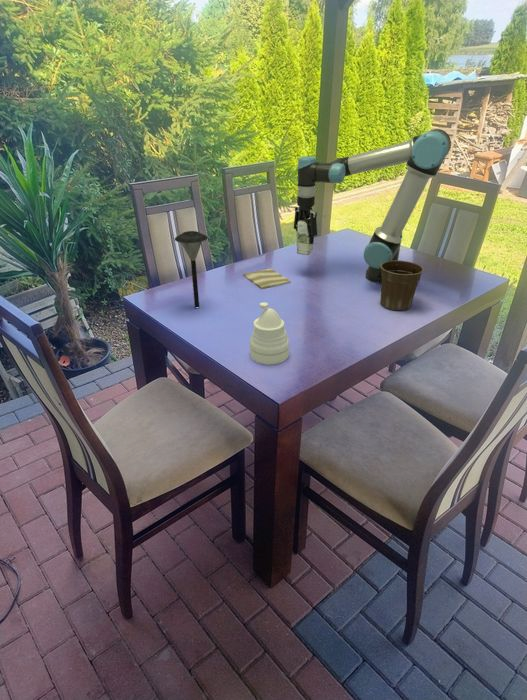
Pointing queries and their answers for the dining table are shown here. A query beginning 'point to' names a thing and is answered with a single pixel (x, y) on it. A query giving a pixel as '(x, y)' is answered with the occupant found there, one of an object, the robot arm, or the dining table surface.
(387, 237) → the robot arm
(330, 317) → the dining table surface
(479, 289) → the dining table surface
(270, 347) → the honey pot
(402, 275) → the plant pot
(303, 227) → the syrup box
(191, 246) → the solar garden light
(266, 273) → the birch board
